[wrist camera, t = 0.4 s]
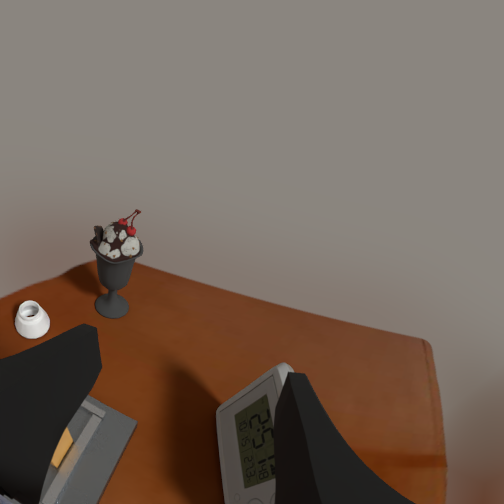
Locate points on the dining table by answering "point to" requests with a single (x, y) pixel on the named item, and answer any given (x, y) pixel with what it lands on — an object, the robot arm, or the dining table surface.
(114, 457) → the grey metal tray
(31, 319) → the white hollow cone ring
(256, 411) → the digital clock
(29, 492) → the robot arm
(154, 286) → the dining table surface
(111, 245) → the sundae
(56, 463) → the cardboard box
